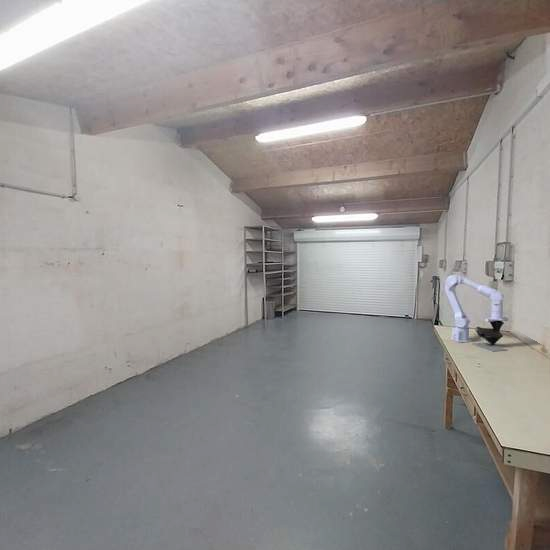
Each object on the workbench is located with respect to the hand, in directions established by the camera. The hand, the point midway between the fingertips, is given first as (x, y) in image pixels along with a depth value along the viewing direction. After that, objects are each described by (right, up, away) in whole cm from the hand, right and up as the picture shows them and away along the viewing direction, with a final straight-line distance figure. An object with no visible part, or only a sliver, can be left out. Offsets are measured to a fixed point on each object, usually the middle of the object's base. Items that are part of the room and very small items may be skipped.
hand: (496, 332), depth 178 cm
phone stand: (0, -3, +1) cm, 3 cm away
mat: (-5, -9, -1) cm, 10 cm away
